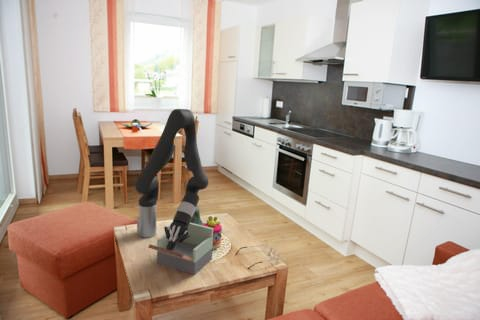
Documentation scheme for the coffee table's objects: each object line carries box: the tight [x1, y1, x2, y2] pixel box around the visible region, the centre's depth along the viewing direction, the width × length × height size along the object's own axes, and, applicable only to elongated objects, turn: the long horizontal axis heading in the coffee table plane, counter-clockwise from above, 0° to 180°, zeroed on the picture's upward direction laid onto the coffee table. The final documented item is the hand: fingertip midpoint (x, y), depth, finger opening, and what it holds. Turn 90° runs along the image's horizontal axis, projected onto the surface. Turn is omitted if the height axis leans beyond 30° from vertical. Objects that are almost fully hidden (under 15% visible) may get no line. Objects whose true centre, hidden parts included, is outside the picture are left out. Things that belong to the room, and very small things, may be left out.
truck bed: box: [156, 223, 213, 276], centre depth 159 cm, size 16×20×16 cm
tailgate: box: [148, 244, 193, 261], centre depth 148 cm, size 1×17×10 cm
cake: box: [202, 215, 223, 251], centre depth 176 cm, size 10×11×15 cm
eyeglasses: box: [234, 242, 281, 270], centre depth 167 cm, size 16×19×5 cm
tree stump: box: [190, 205, 206, 225], centre depth 192 cm, size 18×20×18 cm
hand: (169, 250), depth 146 cm, fingers closed
